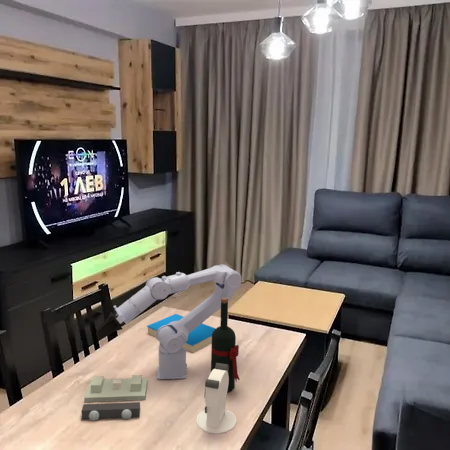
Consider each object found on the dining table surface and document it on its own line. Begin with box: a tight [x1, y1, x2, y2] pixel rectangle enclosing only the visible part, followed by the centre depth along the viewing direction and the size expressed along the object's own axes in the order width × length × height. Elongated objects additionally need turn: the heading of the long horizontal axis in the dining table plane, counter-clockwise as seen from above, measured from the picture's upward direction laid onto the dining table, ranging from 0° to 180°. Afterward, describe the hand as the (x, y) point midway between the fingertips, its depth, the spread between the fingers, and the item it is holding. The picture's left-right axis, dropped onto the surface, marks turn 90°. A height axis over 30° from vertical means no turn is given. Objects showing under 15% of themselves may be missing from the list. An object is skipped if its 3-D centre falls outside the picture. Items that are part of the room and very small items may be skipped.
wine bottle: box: [210, 297, 240, 394], centre depth 140 cm, size 8×10×30 cm
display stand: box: [83, 374, 148, 403], centre depth 139 cm, size 18×10×4 cm, turn 96°
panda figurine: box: [195, 363, 237, 435], centre depth 126 cm, size 12×11×15 cm
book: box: [146, 313, 217, 354], centre depth 179 cm, size 17×4×25 cm
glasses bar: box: [80, 401, 141, 422], centre depth 128 cm, size 16×4×3 cm, turn 96°
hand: (98, 334), depth 137 cm, fingers open, 7 cm apart
